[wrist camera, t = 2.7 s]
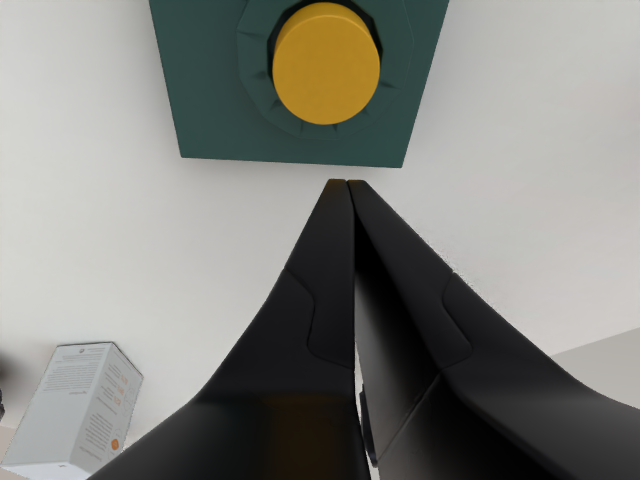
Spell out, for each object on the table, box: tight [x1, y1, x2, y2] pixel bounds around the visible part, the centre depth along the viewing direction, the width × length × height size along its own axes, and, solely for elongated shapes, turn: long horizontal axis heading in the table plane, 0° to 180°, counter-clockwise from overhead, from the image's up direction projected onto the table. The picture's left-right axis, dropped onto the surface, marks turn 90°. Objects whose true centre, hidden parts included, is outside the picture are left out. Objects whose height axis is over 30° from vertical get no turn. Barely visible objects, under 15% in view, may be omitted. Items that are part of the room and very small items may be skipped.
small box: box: [0, 343, 143, 480], centre depth 35 cm, size 8×6×10 cm
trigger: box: [272, 2, 380, 125], centre depth 14 cm, size 4×4×2 cm
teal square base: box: [149, 0, 449, 168], centre depth 17 cm, size 10×12×4 cm
